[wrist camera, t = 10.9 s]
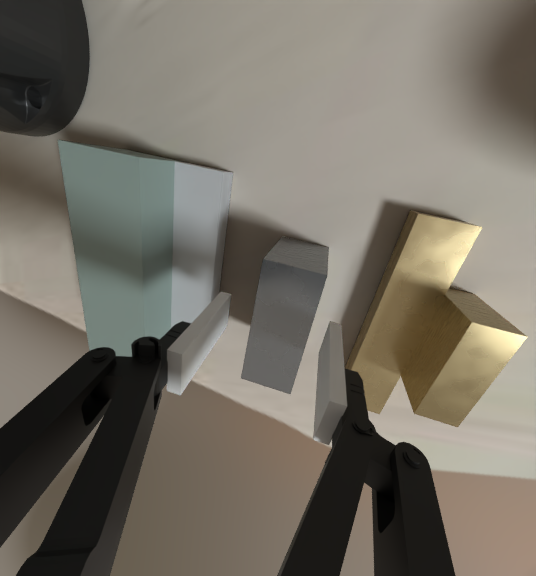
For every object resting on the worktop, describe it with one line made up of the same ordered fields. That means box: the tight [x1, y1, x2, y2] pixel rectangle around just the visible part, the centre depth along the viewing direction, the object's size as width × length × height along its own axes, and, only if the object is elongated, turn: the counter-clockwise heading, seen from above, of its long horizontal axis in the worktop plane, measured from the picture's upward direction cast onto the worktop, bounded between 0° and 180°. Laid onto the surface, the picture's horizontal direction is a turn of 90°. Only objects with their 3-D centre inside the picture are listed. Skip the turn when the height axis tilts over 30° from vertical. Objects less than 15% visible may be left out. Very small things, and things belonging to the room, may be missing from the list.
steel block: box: [241, 236, 329, 394], centre depth 21 cm, size 4×10×7 cm, turn 169°
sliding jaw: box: [345, 210, 527, 427], centre depth 19 cm, size 7×18×6 cm, turn 169°
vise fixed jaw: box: [58, 140, 233, 357], centre depth 22 cm, size 10×18×6 cm, turn 169°
